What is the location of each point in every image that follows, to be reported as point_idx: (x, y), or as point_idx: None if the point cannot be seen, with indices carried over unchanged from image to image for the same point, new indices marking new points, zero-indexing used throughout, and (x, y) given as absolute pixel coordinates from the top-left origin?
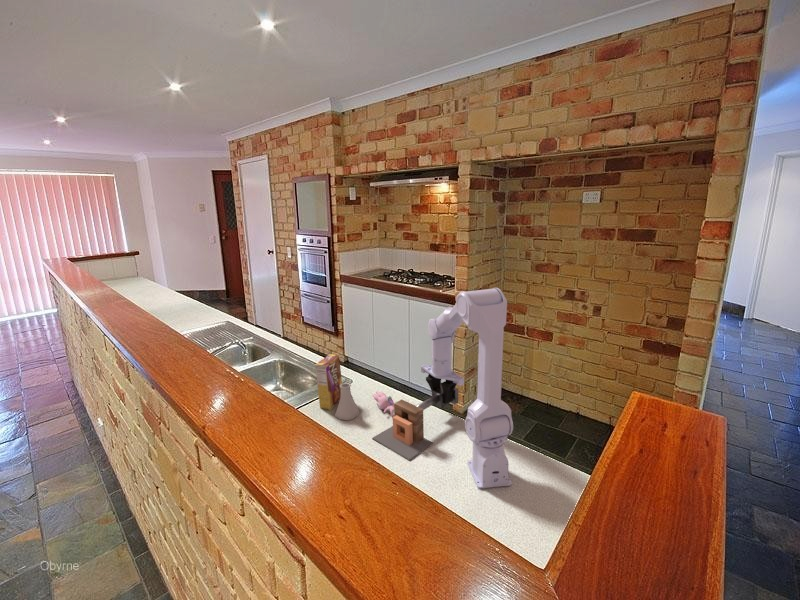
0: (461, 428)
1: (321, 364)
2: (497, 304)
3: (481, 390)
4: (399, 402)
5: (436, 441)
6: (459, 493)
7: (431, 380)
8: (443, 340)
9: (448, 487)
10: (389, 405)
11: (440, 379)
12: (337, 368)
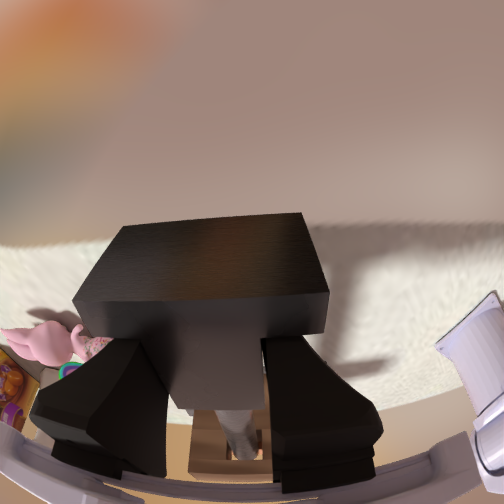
0: (362, 249)
1: None
2: None
3: None
4: (202, 477)
5: (326, 350)
6: (433, 385)
7: (161, 474)
8: None
9: (414, 391)
10: (72, 350)
11: (119, 396)
12: None
